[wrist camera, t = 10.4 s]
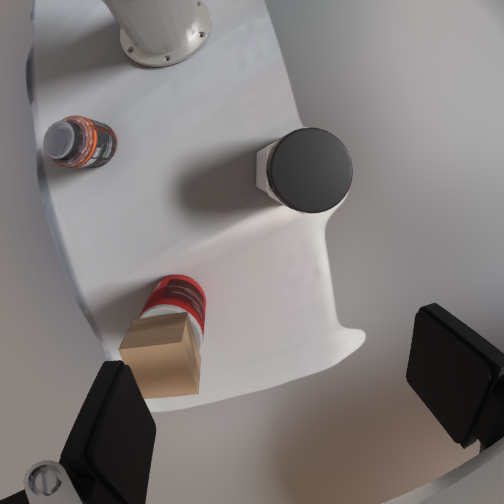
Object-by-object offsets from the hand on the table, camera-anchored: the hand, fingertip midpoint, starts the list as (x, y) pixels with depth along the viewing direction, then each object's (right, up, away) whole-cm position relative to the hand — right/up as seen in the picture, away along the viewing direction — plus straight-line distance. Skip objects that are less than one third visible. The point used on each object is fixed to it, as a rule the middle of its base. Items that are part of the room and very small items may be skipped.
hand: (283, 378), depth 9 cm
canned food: (-11, -3, +33) cm, 35 cm away
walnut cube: (-10, -6, +22) cm, 25 cm away
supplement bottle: (-21, +18, +26) cm, 38 cm away
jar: (+3, +14, +30) cm, 33 cm away
